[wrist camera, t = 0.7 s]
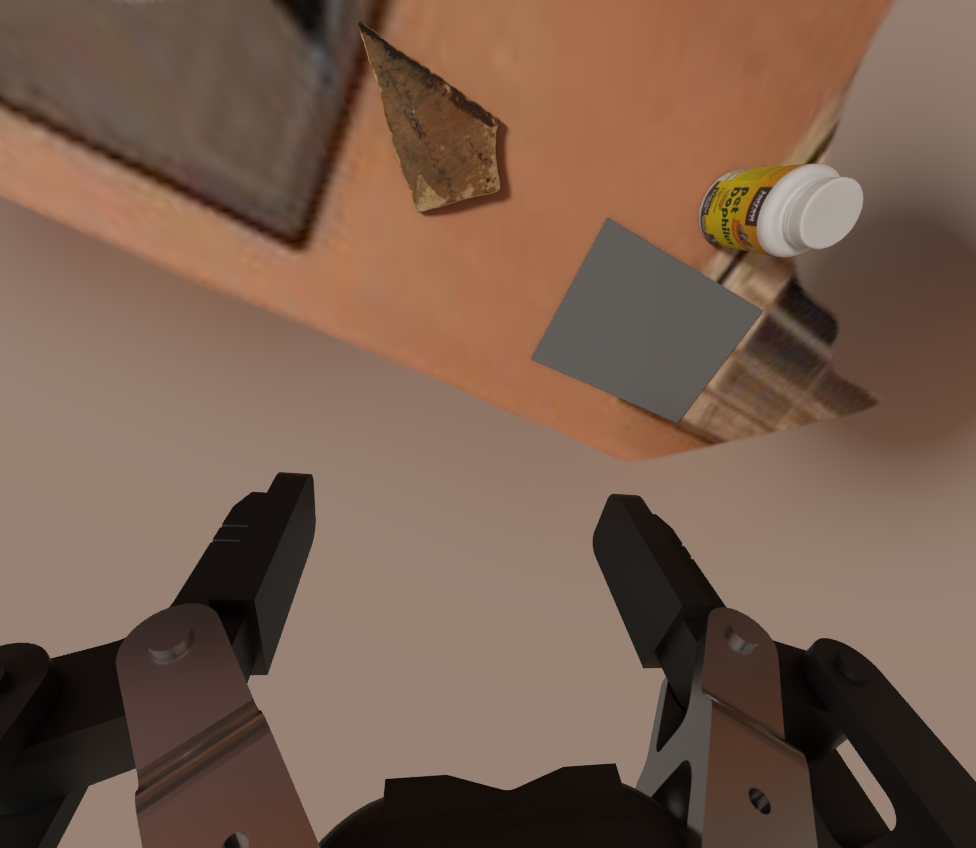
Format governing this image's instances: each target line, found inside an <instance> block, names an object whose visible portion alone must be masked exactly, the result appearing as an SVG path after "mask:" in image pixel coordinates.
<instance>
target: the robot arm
mask: <svg viewBox="0 0 976 848" xmlns="http://www.w3.org/2000/svg"><path fill="white" fill-rule="evenodd" d="M315 523H316V518H315V501H314V482H313V476H312V475H311V474H300V473H284V472H280V473H278V474H277V475H276V477H275V479H274V481H273V482H272V484H271V486H270V488H269V490H268V492H267V493H263V492H251V493H250V494H249V495H248V496H246V497H245V498H244V499H242V500H241V501H240V502H238V503H237V504H236V505H234V507H233V508H232V509H231V511H230V512H229V514H228V516H227V517H226V519H225V520H224V522H223V524H222V528H219V530H218V532H217V533H216V535H215V536H214V538H213V542H212V543H210V544H209V546H208V548H207V549H206V551H205V552H204V554H203V556H202V557H201V559H200V560H199V562H198V564H197V565H196V567H195V568H194V570H193V572H192V574H191V575H190V576H189V578H188V580H187V581H186V583H185V585H184V586H183V588H182V589H181V591H180V592H179V594H178V596H177V597H176V599H175V600H174V602H173V603H172V604H171V606H170V607H169V608H167V609H164V610H162V611H160V612H158V613H156V614H153V615H152V616H150V617H149V618H147V619H145V620H144V621H143V622H141V623H140V624H139V625H138V626H136V628H134V629H133V630H132V631H131V632H130V633H129V635H128V636H127V637H126V638H124V639H121V640H119V641H116V642H112V643H109V644H105V645H101V646H97V647H94V648H90V649H86V650H82V651H78V652H74V653H71V654H67V655H63V656H59V657H55V658H50V657H49V655H48V654H47V652H46V651H45V650H44V649H43V648H42V647H40V646H38V645H35V644H30V643H13V644H6V645H2V646H0V848H57V846H58V844H59V842H60V840H61V838H62V836H63V834H64V833H65V831H66V829H67V827H68V825H69V823H70V821H71V819H72V817H73V815H74V813H75V811H76V809H77V807H78V806H79V804H80V802H81V800H82V798H83V796H84V794H85V792H86V790H87V788H88V786H90V785H92V784H95V783H97V782H100V781H103V780H106V779H108V778H111V777H114V776H116V775H119V774H122V773H124V772H127V771H130V770H132V769H135V768H136V770H137V776H138V784H139V787H138V790H137V791H136V793H135V806H136V814H137V820H138V826H139V831H140V836H141V842H142V848H976V782H975V780H974V779H973V778H972V777H971V776H970V775H969V773H968V772H967V771H966V770H965V769H964V768H963V767H962V765H961V764H960V763H959V762H958V761H957V760H956V759H955V757H954V756H953V755H952V754H951V753H950V751H949V750H948V749H947V748H946V747H945V746H944V745H943V743H942V742H941V741H940V740H939V739H938V738H937V736H935V734H934V733H933V732H932V731H931V729H930V728H929V727H928V726H927V725H926V724H925V723H924V721H923V720H922V719H921V718H920V717H919V716H918V715H917V713H916V712H915V711H914V710H913V709H912V708H911V706H910V705H909V704H908V703H907V702H906V701H905V699H904V698H903V697H902V696H901V695H900V694H899V693H898V691H897V690H896V689H895V688H894V687H893V686H892V685H891V683H890V682H889V681H888V680H887V679H886V678H885V676H884V675H883V674H882V673H881V672H880V671H879V670H878V669H877V667H876V666H875V665H873V664H872V662H870V661H869V660H868V659H867V658H866V657H864V656H863V655H862V654H860V653H859V652H857V651H856V650H855V649H853V648H851V647H850V646H848V645H846V644H844V643H842V642H839V641H836V640H833V639H828V638H821V639H818V640H817V641H815V642H814V644H813V645H812V646H811V647H810V648H809V649H808V650H807V651H806V650H802V649H799V648H796V647H793V646H789V645H786V644H783V643H780V642H776V641H773V640H772V639H771V637H770V636H769V635H768V633H767V632H766V631H765V630H764V629H763V628H762V627H761V626H760V625H759V624H758V623H756V622H755V621H754V620H753V619H751V618H750V617H748V616H747V615H745V614H743V613H741V612H739V611H737V610H734V609H731V608H727V607H726V606H725V605H724V603H723V602H722V600H721V599H720V597H719V596H718V595H717V593H716V592H715V590H714V589H713V587H712V586H711V584H710V583H709V581H708V580H707V578H706V577H705V576H704V574H703V573H702V571H701V570H700V568H699V567H698V566H697V564H696V562H695V561H694V560H693V559H691V555H690V554H689V552H688V551H687V549H686V548H685V547H684V546H682V542H681V541H680V539H679V538H678V536H677V535H676V533H675V532H674V530H673V529H672V528H671V527H670V526H669V525H668V524H667V523H665V522H664V521H663V520H662V519H661V518H659V517H658V516H657V515H656V514H652V513H651V511H650V510H649V508H648V507H647V505H646V503H644V500H643V499H642V498H641V497H640V496H637V495H623V494H612V495H610V496H609V498H608V499H607V502H606V504H605V507H604V510H603V512H602V514H601V517H600V519H599V522H598V524H597V526H596V529H595V532H594V535H593V550H594V554H595V557H596V559H597V561H598V564H599V566H600V568H601V571H602V573H603V575H604V578H605V580H606V582H607V585H608V587H609V589H610V592H611V594H612V596H613V599H614V601H615V603H616V606H617V608H618V610H619V613H620V615H621V617H622V620H623V622H624V624H625V626H626V629H627V631H628V633H629V636H630V638H631V640H632V643H633V645H634V647H635V649H636V652H637V654H638V657H639V659H640V661H641V664H642V666H643V668H662V669H663V671H664V673H665V675H666V677H665V679H664V680H663V682H662V685H661V689H660V695H659V699H658V705H657V710H656V716H655V720H654V726H653V731H652V736H651V741H650V746H649V752H648V756H647V760H646V763H645V766H644V769H643V771H642V773H641V776H640V778H639V780H638V782H637V785H636V788H633V787H631V786H628V785H626V784H623V783H621V780H620V776H619V773H618V770H617V767H616V764H615V763H614V764H600V765H584V766H571V767H562V768H560V769H558V770H556V771H553V772H551V773H549V774H547V775H544V776H542V777H540V778H538V779H536V780H533V781H531V782H529V783H527V784H525V785H522V786H520V787H518V788H516V789H513V790H502V789H498V788H494V787H490V786H486V785H483V784H479V783H475V782H471V781H468V780H464V779H460V778H456V777H453V776H449V775H438V776H425V777H409V778H394V779H386V780H385V789H384V797H383V798H380V799H378V800H376V801H373V802H371V803H369V804H367V805H365V806H364V807H362V808H360V809H358V810H357V811H355V812H353V813H352V814H351V815H349V816H348V817H347V818H345V819H344V820H343V821H341V822H340V823H339V824H338V825H337V826H336V827H334V828H333V829H332V830H331V831H330V832H329V833H328V834H327V835H326V836H325V837H324V838H323V839H322V840H321V841H320V842H319V843H318V841H317V839H316V837H315V834H314V832H313V830H312V827H311V825H310V822H309V820H308V818H307V815H306V813H305V811H304V808H303V806H302V803H301V801H300V799H299V796H298V794H297V792H296V789H295V787H294V784H293V782H292V780H291V778H290V775H289V772H288V770H287V768H286V765H285V763H284V761H283V758H282V756H281V753H280V751H279V749H278V746H277V744H276V742H275V739H274V737H273V734H272V732H271V730H270V727H269V725H268V723H267V721H266V719H265V717H264V715H263V713H262V712H261V710H260V711H259V710H258V708H257V706H256V704H255V702H254V699H253V697H252V695H251V692H250V690H249V687H248V685H247V683H248V680H249V677H250V675H267V674H268V672H269V669H270V666H271V663H272V660H273V657H274V654H275V651H276V648H277V645H278V643H279V639H280V637H281V634H282V631H283V628H284V624H285V622H286V619H287V616H288V613H289V610H290V607H291V604H292V602H293V598H294V595H295V593H296V590H297V587H298V584H299V581H300V578H301V575H302V572H303V569H304V566H305V563H306V561H307V558H308V555H309V552H310V549H311V546H312V542H313V538H314V533H315ZM847 739H848V740H849V741H850V743H851V744H852V746H853V747H854V748H855V750H856V751H857V752H858V754H859V756H860V757H861V758H862V760H863V761H864V763H865V764H866V766H867V767H868V768H869V770H870V771H871V773H872V774H873V776H874V777H875V778H876V780H877V781H878V783H879V784H880V786H881V787H882V789H883V790H884V791H885V792H886V794H887V796H888V797H889V799H890V801H891V803H892V805H893V807H894V810H895V814H896V826H895V828H894V829H893V831H890V830H889V828H888V827H887V825H886V824H885V822H884V821H883V819H882V818H881V816H880V815H879V813H878V812H877V811H876V809H875V807H874V806H873V804H872V803H871V801H870V800H869V798H868V797H867V795H866V794H865V792H864V791H863V789H862V788H861V786H860V785H859V783H858V782H857V780H856V779H855V777H854V776H853V774H852V772H851V771H850V769H849V768H848V767H847V765H846V763H845V762H844V760H843V759H842V757H841V756H840V754H839V753H838V751H837V750H836V748H837V747H838V746H839V745H840V744H842V743H843V742H844V741H845V740H847Z"/></svg>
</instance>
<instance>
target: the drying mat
mask: <svg viewBox="0 0 976 848" xmlns="http://www.w3.org/2000/svg"><path fill="white" fill-rule="evenodd" d="M762 311H763V310H761V309H760V308H758V307H756V306H755V305H753V304H751V303H750V302H748V301H746V300H745V299H743V298H741V297H740V296H738V295H736V294H735V293H733V292H731V291H730V290H728V289H726V288H725V287H723V286H721V285H720V284H718V283H716V282H715V281H713V280H711V279H710V278H708V277H706V276H705V275H703V274H701V273H700V272H698V271H696V270H695V269H693V268H691V267H690V266H688V265H686V264H685V263H683V262H681V261H680V260H678V259H676V258H675V257H673V256H671V255H670V254H668V253H666V252H665V251H663V250H661V249H660V248H658V247H656V246H655V245H653V244H651V243H650V242H648V241H646V240H645V239H643V238H641V237H640V236H638V235H636V234H635V233H633V232H631V231H630V230H628V229H626V228H625V227H623V226H621V225H620V224H618V223H616V222H615V221H613V220H611V219H610V218H607V219H606V221H605V223H604V225H603V227H602V229H601V230H600V232H599V234H598V236H597V238H596V240H595V242H594V243H593V245H592V247H591V249H590V251H589V253H588V254H587V256H586V258H585V260H584V262H583V264H582V266H581V267H580V269H579V271H578V273H577V275H576V277H575V278H574V280H573V282H572V284H571V286H570V288H569V290H568V291H567V293H566V295H565V297H564V299H563V301H562V303H561V304H560V306H559V308H558V310H557V312H556V314H555V315H554V317H553V319H552V321H551V323H550V325H549V327H548V328H547V330H546V332H545V334H544V336H543V338H542V339H541V341H540V343H539V345H538V347H537V349H536V351H535V352H534V354H533V356H532V358H531V359H532V360H534V361H536V362H538V363H541V364H543V365H545V366H548V367H550V368H552V369H554V370H557V371H559V372H561V373H564V374H566V375H568V376H571V377H573V378H575V379H578V380H580V381H582V382H584V383H587V384H589V385H591V386H594V387H596V388H598V389H601V390H603V391H605V392H607V393H610V394H612V395H614V396H617V397H619V398H621V399H624V400H626V401H628V402H631V403H633V404H635V405H637V406H640V407H642V408H644V409H647V410H649V411H651V412H654V413H656V414H658V415H661V416H663V417H665V418H667V419H670V420H672V421H674V422H677V423H678V421H679V420H680V419H681V418H682V416H683V415H684V414H685V412H686V411H687V410H688V408H689V407H690V406H691V404H692V403H693V402H694V400H695V399H696V398H697V396H698V395H699V394H700V393H701V391H702V390H703V389H704V387H705V386H706V385H707V383H708V382H709V381H710V379H711V378H712V377H713V375H714V374H715V373H716V372H717V370H718V369H719V368H720V366H721V365H722V364H723V362H724V361H725V360H726V358H727V357H728V356H729V354H730V353H731V352H732V350H733V349H734V348H735V347H736V345H737V344H738V343H739V341H740V340H741V339H742V337H743V336H744V335H745V333H746V332H747V331H748V329H749V328H750V327H751V326H752V324H753V323H754V322H755V320H756V319H757V318H758V316H759V315H760V314H761V312H762Z"/></svg>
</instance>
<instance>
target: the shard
mask: <svg viewBox="0 0 976 848" xmlns="http://www.w3.org/2000/svg"><path fill="white" fill-rule="evenodd" d="M358 25H359V28H360V32H361V36H362V39H363V41H364V44H365V48H366V52H367V55H368V59H369V62H370V64H371V66H372V69H373V72H374V74H375V77H376V82H377V85H378V88H379V91H380V94H381V98H382V102H383V109H384V114H385V118H386V121H387V124H388V127H389V130H390V133H391V137H392V143H393V146H394V149H395V153H396V155H397V157H398V160H399V165H400V168H401V170H402V174H403V177H404V180H405V183H406V185H407V187H408V188H409V189H410V191H411V195H412V199H413V204H414V206H415V208H416V210H417V212H418V213H420V212H424V211H427V210H429V209H433V208H440V207H443V206H446V205H450V204H453V203H456V202H459V201H462V200H465V199H467V198H473V197H479V196H482V195H490V194H493V193H496V192H497V191H499V190H500V180H499V175H498V168H497V161H496V152H495V149H496V131H497V128H498V126H499V124H500V119H499V118H498V117H496V116H494V115H492V114H491V113H490V112H488V111H486V110H485V109H483V107H481V106H480V105H479V104H478V103H476V102H475V101H473V100H471V99H470V98H468V97H467V96H465V95H464V94H463V93H462V92H461V91H459V90H458V89H456V88H455V87H453V86H451V85H450V84H449V83H448V82H446V81H445V80H444V79H443V78H442V77H440V76H439V75H437V74H436V73H435V72H432V71H431V70H430V69H429V68H428V67H426V66H424V65H423V64H421V63H420V62H418V61H417V60H415V59H414V58H413V57H410V56H408V55H407V54H405V53H404V52H402V51H400V50H397V49H396V48H394V47H393V46H392V45H390V44H388V43H387V42H386V41H385V40H383V39H382V38H381V37H380V36H379V35H378V34H377V33H376V32H375V31H374V30H372V29H370V28H369V27H367V26H366V25H364V24H363V23H361V22H359V21H358Z"/></svg>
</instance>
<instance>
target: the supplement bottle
mask: <svg viewBox="0 0 976 848" xmlns="http://www.w3.org/2000/svg"><path fill="white" fill-rule="evenodd" d="M862 205H863V192H862V189H861V186H860V185H859V184H858V183H857V182H856V181H855V180H854V179H851V178H847V177H840V176H839V174H838V173H837V172H836V171H835V170H834V169H832V168H831V167H829V166H827V165H823V164H803V165H789V166H776V167H763V168H749V169H739V170H734V171H731V172H729V173H727V174H725V175H723V176H722V177H720V178H719V179H718V180H717V181H716V182H715V183H714V184H713V185H712V186H711V187H710V188H709V190H708V191H707V193H706V194H705V196H704V198H703V201H702V203H701V206H700V210H699V226H700V230H701V232H702V234H703V236H704V237H705V238H706V239H707V240H708V241H709V242H711V243H713V244H715V245H719V246H724V247H729V248H734V249H740V250H745V251H750V252H755V253H761V254H766V255H771V256H776V257H793V256H797V255H800V254H802V253H804V252H806V251H809V250H810V249H823V248H827V247H830V246H832V245H834V244H835V243H837V242H838V241H840V240H841V239H842V238H843V237H845V236H846V234H848V233H849V231H850V230H851V229H852V228H853V226H854V225H855V223H856V221H857V219H858V217H859V215H860V212H861V210H862Z"/></svg>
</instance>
